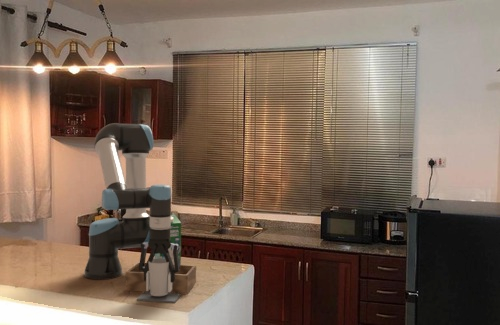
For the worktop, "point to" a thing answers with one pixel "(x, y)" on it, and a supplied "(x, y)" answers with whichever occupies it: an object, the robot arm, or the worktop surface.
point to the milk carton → (174, 238)
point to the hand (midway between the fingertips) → (159, 290)
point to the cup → (158, 276)
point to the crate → (182, 278)
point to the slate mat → (159, 297)
